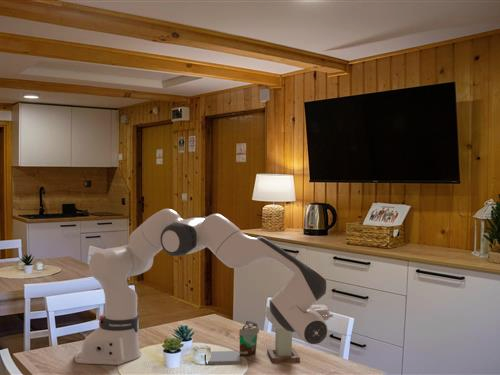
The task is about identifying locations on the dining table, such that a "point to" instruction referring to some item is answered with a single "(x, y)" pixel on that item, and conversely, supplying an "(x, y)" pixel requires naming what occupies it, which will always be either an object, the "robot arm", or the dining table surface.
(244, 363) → the dining table surface
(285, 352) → the sage block
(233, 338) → the dining table surface
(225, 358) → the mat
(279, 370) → the dining table surface
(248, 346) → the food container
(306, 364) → the dining table surface
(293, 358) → the board
